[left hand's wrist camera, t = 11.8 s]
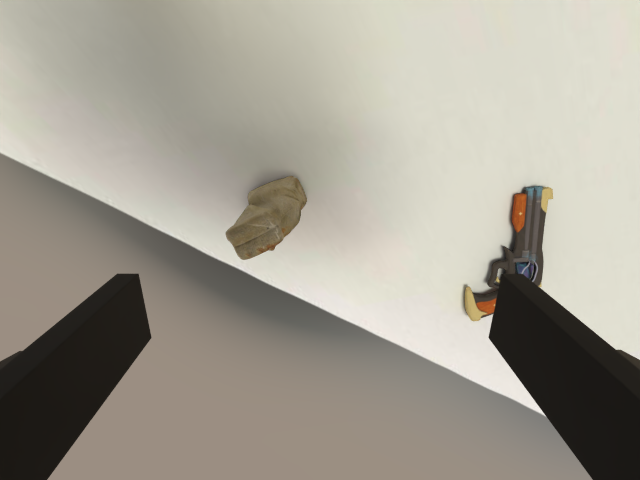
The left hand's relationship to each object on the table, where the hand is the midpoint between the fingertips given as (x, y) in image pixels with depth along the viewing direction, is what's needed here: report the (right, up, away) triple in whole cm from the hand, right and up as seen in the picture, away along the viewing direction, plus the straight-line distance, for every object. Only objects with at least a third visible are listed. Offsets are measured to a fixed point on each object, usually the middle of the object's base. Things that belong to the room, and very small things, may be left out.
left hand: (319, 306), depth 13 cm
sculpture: (-5, +8, +33) cm, 35 cm away
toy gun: (+25, 0, +36) cm, 44 cm away
